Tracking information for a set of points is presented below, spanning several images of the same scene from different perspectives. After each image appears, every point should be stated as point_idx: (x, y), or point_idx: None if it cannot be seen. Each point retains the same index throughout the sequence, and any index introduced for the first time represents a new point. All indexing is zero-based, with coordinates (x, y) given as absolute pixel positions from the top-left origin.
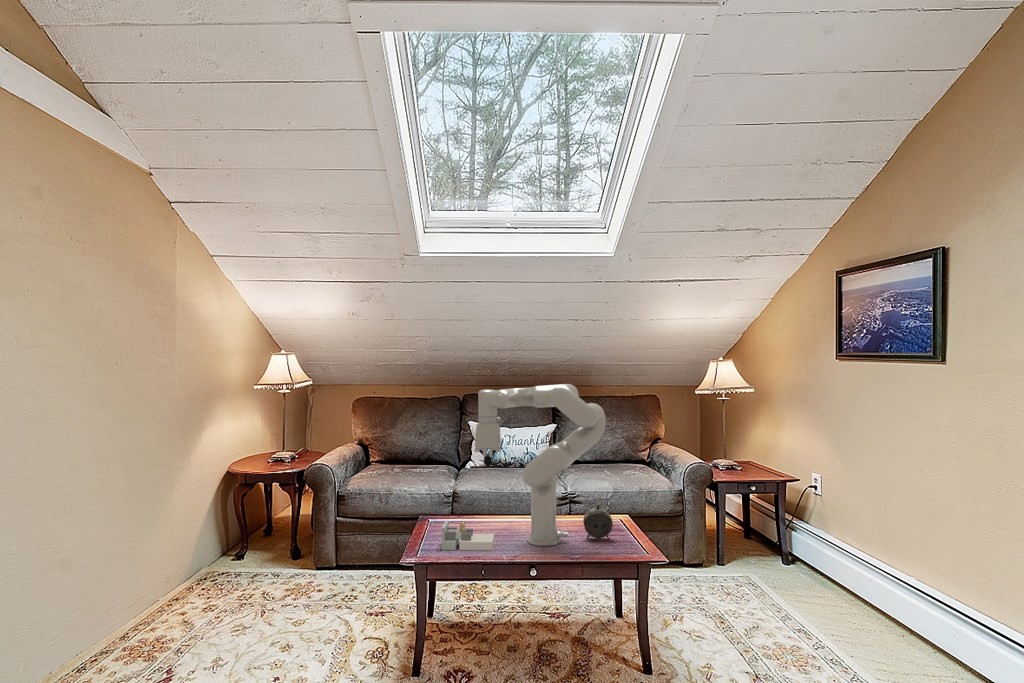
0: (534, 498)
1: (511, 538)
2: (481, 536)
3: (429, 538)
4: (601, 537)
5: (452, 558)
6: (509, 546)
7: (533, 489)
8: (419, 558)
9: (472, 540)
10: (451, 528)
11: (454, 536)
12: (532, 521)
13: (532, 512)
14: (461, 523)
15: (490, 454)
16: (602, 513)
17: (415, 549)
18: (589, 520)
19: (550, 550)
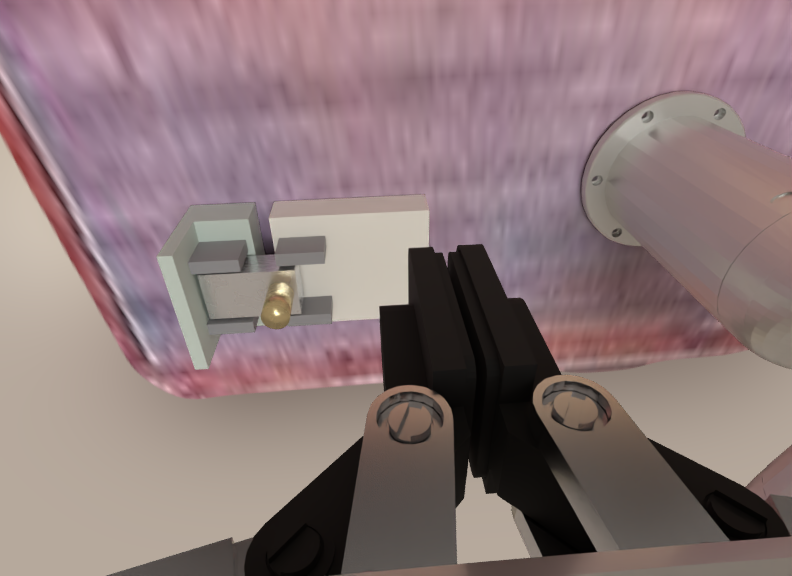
0: (738, 339)
1: (509, 133)
2: (371, 251)
3: (77, 159)
4: None
5: (291, 374)
6: (493, 246)
7: (786, 349)
8: (175, 383)
9: (340, 304)
10: (213, 271)
11: (257, 320)
12: (649, 245)
13: (676, 271)
14: (274, 327)
15: (552, 523)
16: None
17: (105, 307)
18: None
19: (648, 278)
